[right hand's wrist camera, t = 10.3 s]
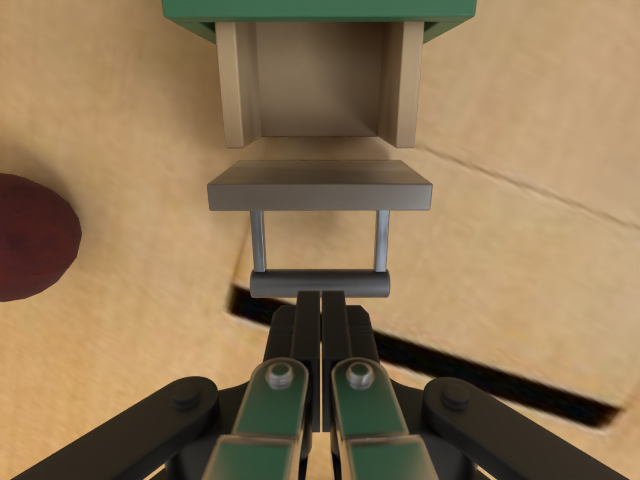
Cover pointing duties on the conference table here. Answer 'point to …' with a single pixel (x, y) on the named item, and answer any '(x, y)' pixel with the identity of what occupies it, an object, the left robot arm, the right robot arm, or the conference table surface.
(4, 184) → the potato
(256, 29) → the drawer
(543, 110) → the conference table surface
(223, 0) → the cabinet
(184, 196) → the conference table surface
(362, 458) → the right robot arm
